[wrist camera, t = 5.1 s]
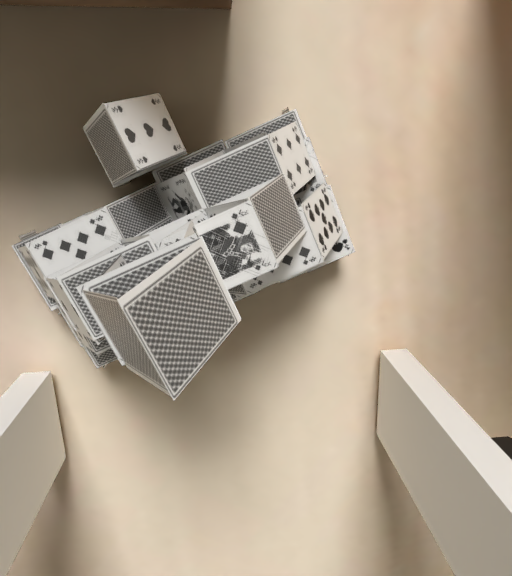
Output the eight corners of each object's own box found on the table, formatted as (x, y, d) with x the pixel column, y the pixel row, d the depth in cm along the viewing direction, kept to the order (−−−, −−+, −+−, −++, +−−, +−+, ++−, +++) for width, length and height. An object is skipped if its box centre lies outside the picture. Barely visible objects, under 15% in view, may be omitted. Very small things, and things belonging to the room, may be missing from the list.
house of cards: (277, -143, 10) (436, -935, 3) (400, 222, 13) (656, 321, 5) (-88, 34, 10) (-808, -242, 3) (103, 353, 13) (-47, 616, 6)
